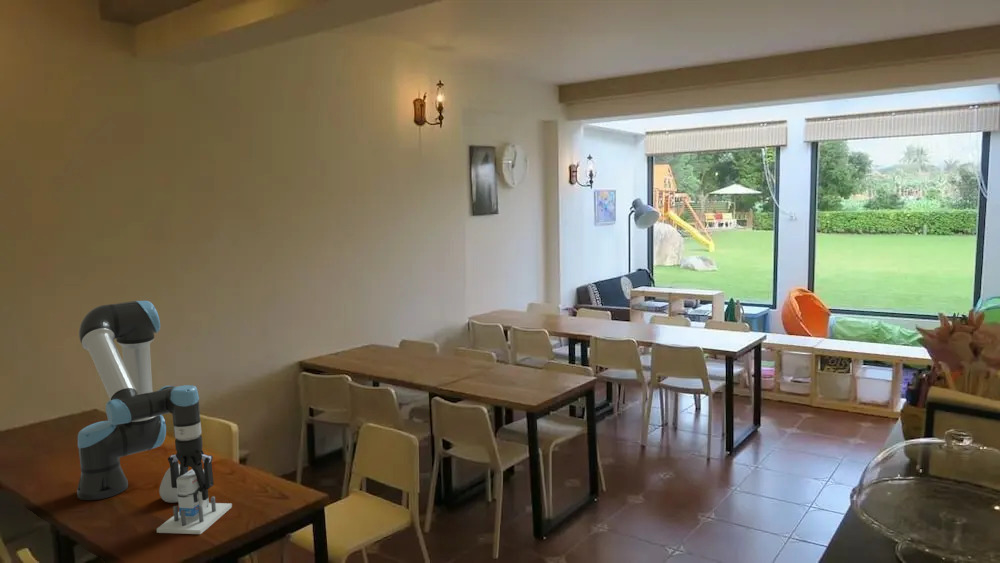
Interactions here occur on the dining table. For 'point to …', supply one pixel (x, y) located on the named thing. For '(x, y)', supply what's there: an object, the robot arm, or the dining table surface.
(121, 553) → the dining table surface
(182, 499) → the ink box
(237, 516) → the dining table surface
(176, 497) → the toy character
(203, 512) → the peg board
